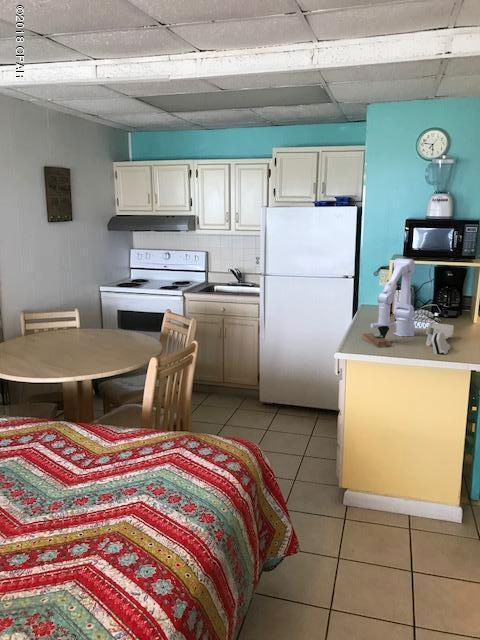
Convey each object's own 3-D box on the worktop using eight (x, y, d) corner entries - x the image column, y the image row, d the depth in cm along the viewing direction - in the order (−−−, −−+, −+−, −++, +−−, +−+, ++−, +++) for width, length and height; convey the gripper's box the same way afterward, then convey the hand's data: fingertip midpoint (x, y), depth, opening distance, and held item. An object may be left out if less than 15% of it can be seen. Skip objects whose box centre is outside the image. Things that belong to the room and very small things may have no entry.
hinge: (445, 355, 262) (439, 335, 261) (435, 357, 264) (430, 338, 264) (450, 347, 276) (445, 329, 275) (441, 349, 278) (436, 331, 278)
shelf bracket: (422, 345, 281) (426, 322, 280) (442, 346, 298) (446, 324, 298) (432, 347, 277) (436, 323, 276) (452, 348, 295) (455, 325, 294)
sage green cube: (379, 341, 289) (379, 334, 288) (382, 342, 285) (382, 335, 284) (372, 341, 288) (372, 334, 287) (375, 343, 284) (375, 336, 283)
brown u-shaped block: (373, 338, 295) (373, 333, 294) (390, 346, 278) (390, 340, 277) (361, 339, 293) (362, 333, 292) (377, 347, 276) (378, 341, 275)
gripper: (392, 312, 289) (390, 337, 292) (368, 314, 285) (367, 338, 288) (399, 315, 282) (397, 340, 285) (375, 317, 278) (373, 342, 281)
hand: (382, 339), depth 286 cm, fingers closed
